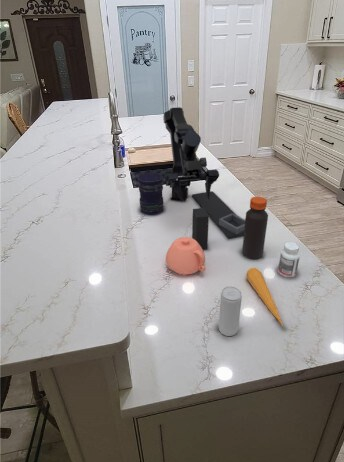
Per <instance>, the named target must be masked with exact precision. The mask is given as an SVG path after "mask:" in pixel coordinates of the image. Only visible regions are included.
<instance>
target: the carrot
mask: <svg viewBox="0 0 344 462" xmlns="http://www.w3.org/2000/svg"><path fill="white" fill-rule="evenodd" d="M245 275H246V279H247V281H248V282H249V283H250V285H251V286H252V288H253V289H254V290H255V292H256V293H257V295H258V296H259V297H260V299H261V300H262V302H263V303H264V304H265V306H266V307H267V308H268V310H269V311H270V312H271V314H272V315H273V316H274V317H275V318H276V320H277V321H278V322H279V324H280V325H281V326H282V327H284V324H283V322H282V319H281V316H280V314H279V311H278V308H277V306H276V304H275V303H276V302H275V301H274V299H273V297H272V294H271V292H270V289H269V287H268V285H267V282H266V280H265V277H264V275H263V273H262V272H261V271H260V270H259V268H257V267H251V268H250V267H249V269H248V270H247V271H246V274H245Z"/></svg>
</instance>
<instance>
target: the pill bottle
mask: <svg viewBox="0 0 344 462" xmlns="http://www.w3.org/2000/svg"><path fill="white" fill-rule="evenodd" d="M299 249H300V247H299V245H298V244H297V243H295V242H292V241H289V242H285V243H284V246H283V249H282V250H281V251H280V256H279V263H278V267H277V268H278V269H277V271H278V273H279V274H280V275H281V276H282V277H285V278H293V277H295V276H297V272H298V269H299V268H298V267H299V262H300V258H301V254H300V252H299Z"/></svg>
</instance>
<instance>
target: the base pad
mask: <svg viewBox="0 0 344 462" xmlns="http://www.w3.org/2000/svg"><path fill="white" fill-rule="evenodd" d="M191 197H192V198H193V199H194V200H195V201H196V203H197V204H198V205H199V207H200V208H204V209H205V210H206V212H207V214H208V216H209V219H211V220H212V222H213V223H214V224H215V225H216V226H217V228H219V230H220V231H221V232H222V233H223V234H224V235H225V237H226V238H227V239H228V240H231V239H236V238H242V237H244V229H245V219H244V218H242V217H241V216H238V215H237V214H236V213H235V212H234V211H233V210H232V209H231V207H229V206H228V204H226V203H225V202H224V201H223V200H222V199H221V198H220V197H219V196H218V195H217V194H216V193H215V192H214V191H212V190H210V196H209V199H207V196H206V191H204V192H198V193H193V194H191Z"/></svg>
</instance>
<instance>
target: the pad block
mask: <svg viewBox="0 0 344 462" xmlns="http://www.w3.org/2000/svg"><path fill="white" fill-rule="evenodd" d="M209 219H210V217H209V215H208V214H207V212H206V210H205V209H204V208H202V207H197V208H192V221H191V222H192V227H191V238H192V239H194V240H196V241H197V242H198V244H199V245H200V246H201V248H202V249H203V251H206V250H208V248H209V247H208V245H209V221H210V220H209Z"/></svg>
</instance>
